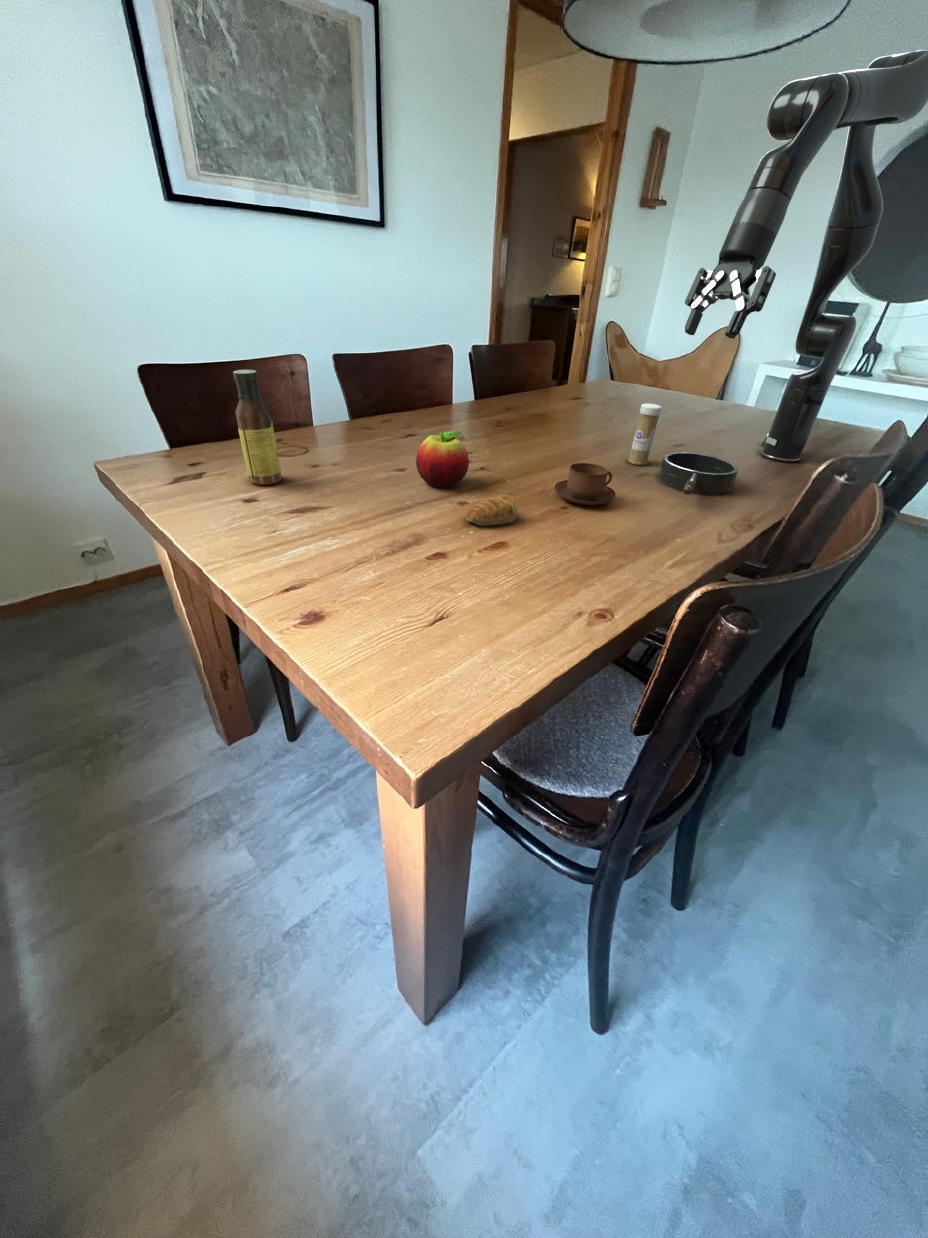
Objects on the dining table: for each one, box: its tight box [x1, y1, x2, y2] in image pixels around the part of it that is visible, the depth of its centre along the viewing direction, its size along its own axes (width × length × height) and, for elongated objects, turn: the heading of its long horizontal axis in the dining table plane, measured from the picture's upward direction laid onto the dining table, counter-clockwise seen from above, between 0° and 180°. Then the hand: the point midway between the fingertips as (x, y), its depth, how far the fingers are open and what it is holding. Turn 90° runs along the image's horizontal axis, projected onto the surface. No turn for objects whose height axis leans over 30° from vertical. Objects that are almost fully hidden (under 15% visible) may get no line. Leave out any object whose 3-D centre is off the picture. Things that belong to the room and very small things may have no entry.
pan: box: [658, 451, 739, 496], centre depth 117 cm, size 16×16×4 cm
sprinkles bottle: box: [628, 403, 663, 466], centre depth 124 cm, size 5×5×14 cm
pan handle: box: [682, 473, 699, 496], centre depth 106 cm, size 11×2×2 cm, turn 153°
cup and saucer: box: [554, 462, 616, 506], centre depth 104 cm, size 12×12×6 cm
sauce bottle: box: [232, 369, 282, 486], centre depth 98 cm, size 7×6×20 cm
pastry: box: [465, 494, 520, 527], centre depth 93 cm, size 9×7×4 cm
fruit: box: [415, 430, 470, 488], centre depth 106 cm, size 11×11×10 cm
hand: (708, 335), depth 93 cm, fingers open, 8 cm apart
